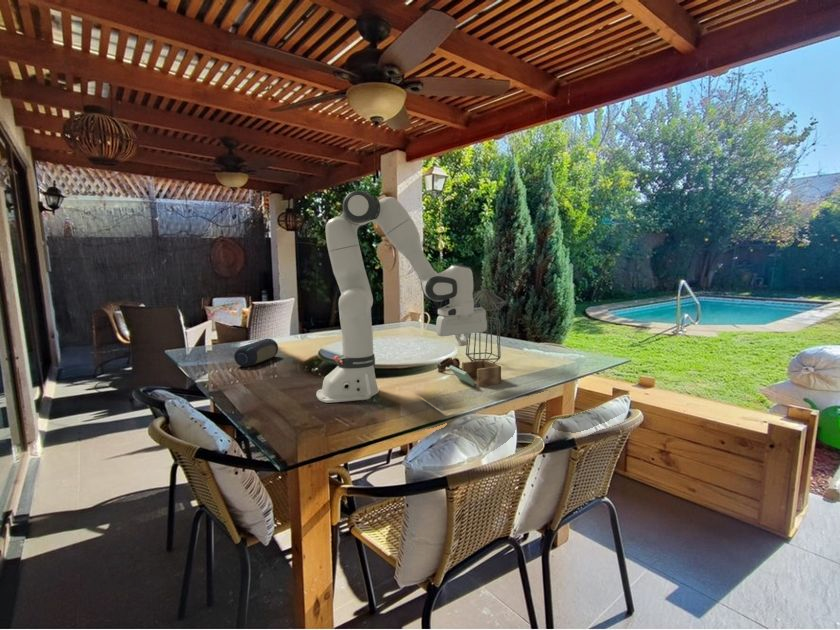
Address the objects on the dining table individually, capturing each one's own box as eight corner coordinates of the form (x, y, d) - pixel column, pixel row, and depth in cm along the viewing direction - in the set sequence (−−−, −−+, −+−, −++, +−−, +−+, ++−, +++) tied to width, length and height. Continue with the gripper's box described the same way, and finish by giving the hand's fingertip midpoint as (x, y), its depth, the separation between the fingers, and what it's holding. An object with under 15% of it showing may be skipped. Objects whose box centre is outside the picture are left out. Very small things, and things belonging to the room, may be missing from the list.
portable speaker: (251, 369, 193) (250, 347, 192) (232, 368, 196) (230, 346, 195) (282, 356, 218) (281, 337, 216) (264, 355, 220) (263, 336, 219)
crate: (478, 390, 158) (478, 369, 157) (461, 382, 169) (462, 362, 168) (500, 387, 163) (501, 366, 161) (483, 379, 173) (483, 359, 172)
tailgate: (474, 387, 158) (464, 374, 155) (458, 379, 168) (448, 367, 166) (476, 384, 158) (466, 372, 155) (460, 377, 168) (450, 365, 166)
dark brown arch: (458, 380, 174) (448, 363, 174) (441, 386, 180) (431, 370, 179) (469, 366, 184) (459, 350, 183) (452, 372, 190) (443, 357, 189)
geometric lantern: (460, 363, 199) (461, 288, 195) (491, 361, 203) (492, 288, 199) (474, 371, 184) (476, 290, 180) (507, 369, 188) (509, 289, 184)
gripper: (480, 305, 165) (481, 341, 167) (433, 310, 157) (434, 347, 159) (490, 307, 160) (490, 343, 162) (441, 312, 151) (442, 350, 153)
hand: (462, 345), depth 160 cm, fingers closed
